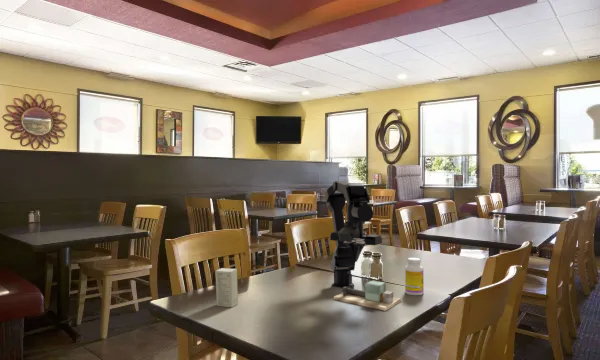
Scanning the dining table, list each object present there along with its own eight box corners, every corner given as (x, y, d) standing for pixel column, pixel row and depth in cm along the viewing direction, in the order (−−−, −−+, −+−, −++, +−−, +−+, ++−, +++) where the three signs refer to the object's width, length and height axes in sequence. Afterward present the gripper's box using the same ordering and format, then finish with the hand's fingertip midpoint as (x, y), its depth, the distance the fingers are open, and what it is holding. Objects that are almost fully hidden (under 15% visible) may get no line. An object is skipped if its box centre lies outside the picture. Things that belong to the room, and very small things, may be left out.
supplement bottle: (424, 296, 142) (424, 261, 142) (405, 295, 144) (405, 260, 143) (422, 291, 149) (422, 257, 149) (404, 290, 150) (404, 256, 150)
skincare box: (238, 303, 136) (237, 268, 135) (231, 307, 131) (231, 271, 131) (222, 301, 138) (221, 267, 138) (215, 306, 133) (215, 270, 133)
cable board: (333, 299, 140) (333, 287, 140) (351, 291, 149) (351, 280, 149) (385, 310, 127) (385, 298, 127) (400, 301, 137) (400, 289, 137)
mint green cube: (365, 298, 136) (365, 283, 136) (372, 295, 140) (372, 280, 140) (378, 301, 133) (378, 286, 132) (385, 297, 137) (385, 282, 137)
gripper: (321, 218, 141) (321, 262, 142) (367, 222, 130) (367, 269, 130) (338, 216, 150) (338, 256, 150) (382, 219, 138) (382, 263, 139)
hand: (355, 261), depth 142 cm, fingers closed
